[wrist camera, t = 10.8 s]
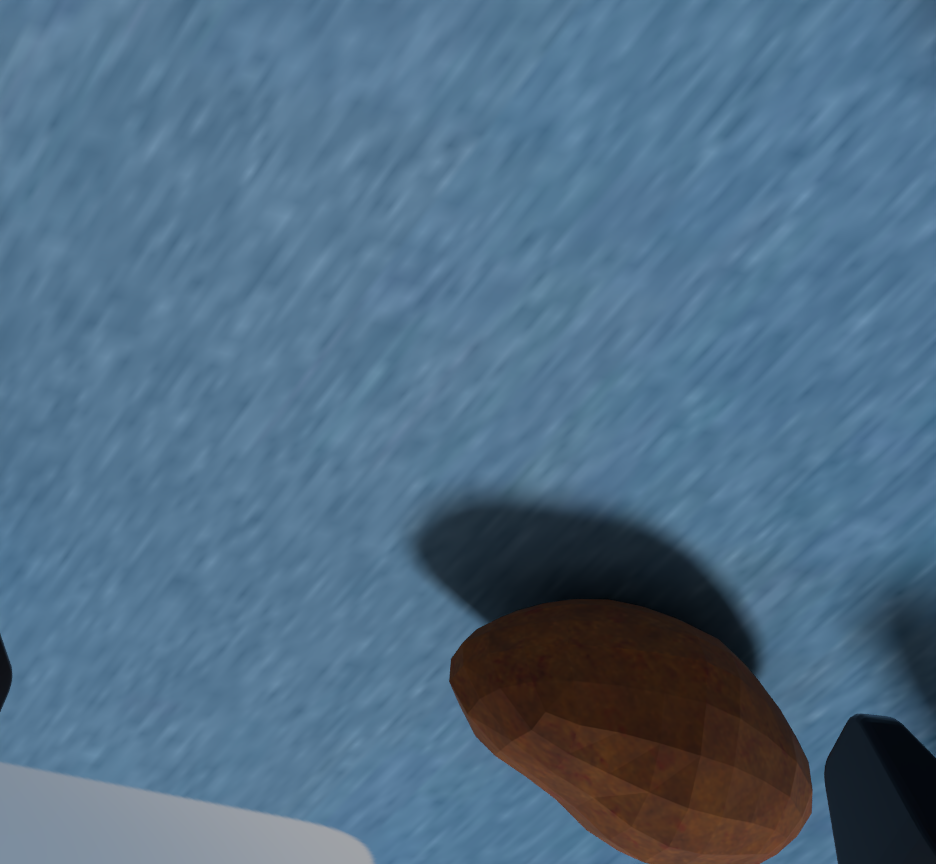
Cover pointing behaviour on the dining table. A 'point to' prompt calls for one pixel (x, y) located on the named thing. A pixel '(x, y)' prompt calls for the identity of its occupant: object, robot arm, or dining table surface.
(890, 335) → the dining table surface
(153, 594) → the dining table surface
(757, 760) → the potato
